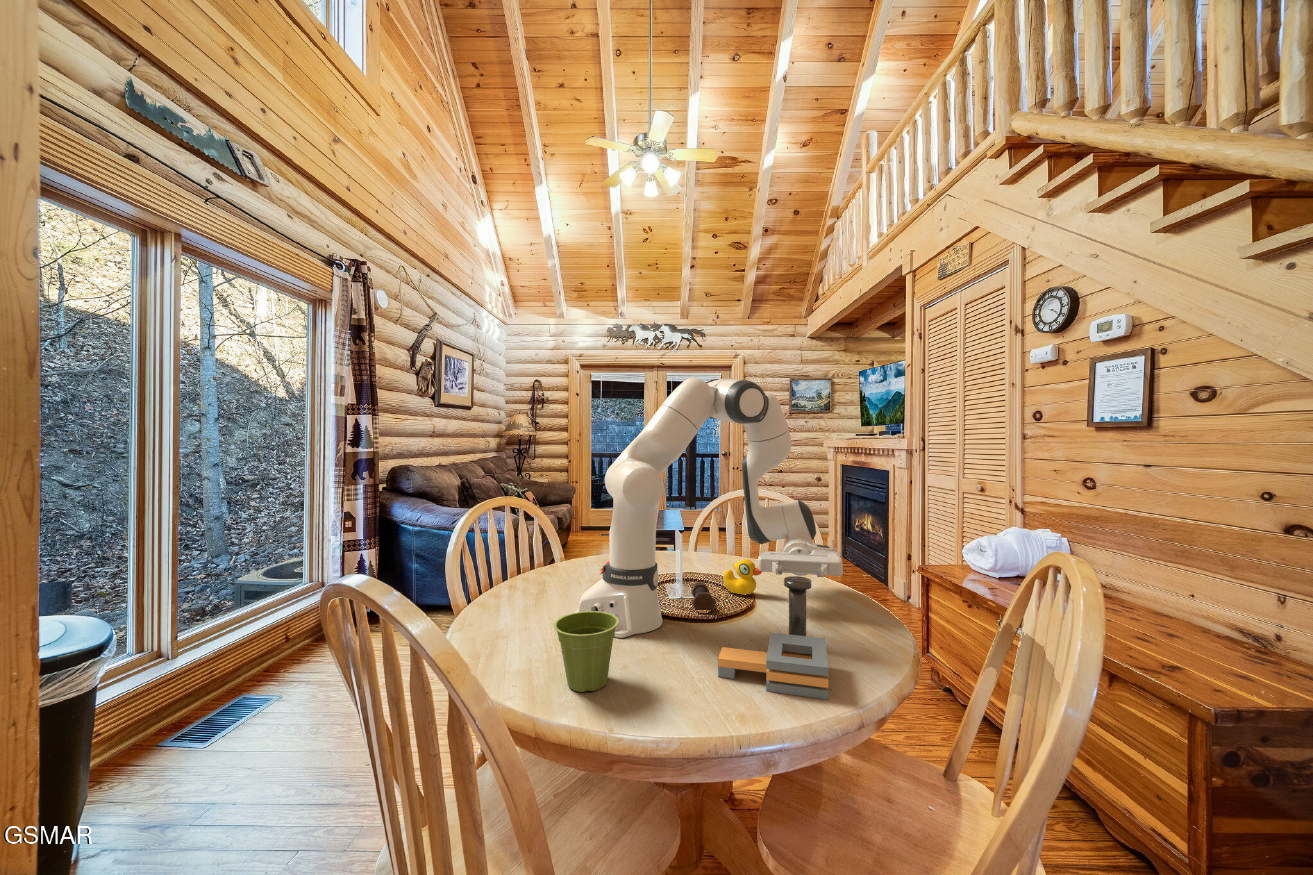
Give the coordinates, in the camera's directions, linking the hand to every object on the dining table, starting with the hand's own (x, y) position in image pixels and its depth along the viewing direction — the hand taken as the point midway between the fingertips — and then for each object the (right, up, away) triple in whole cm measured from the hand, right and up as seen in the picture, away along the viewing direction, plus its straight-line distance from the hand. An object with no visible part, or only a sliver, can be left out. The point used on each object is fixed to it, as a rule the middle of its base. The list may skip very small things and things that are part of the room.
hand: (799, 572), depth 118 cm
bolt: (-22, -13, +15) cm, 29 cm away
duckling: (-10, -12, +21) cm, 27 cm away
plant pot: (-46, -13, -26) cm, 55 cm away
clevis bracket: (-12, -13, -24) cm, 29 cm away
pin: (-4, -13, -11) cm, 17 cm away
